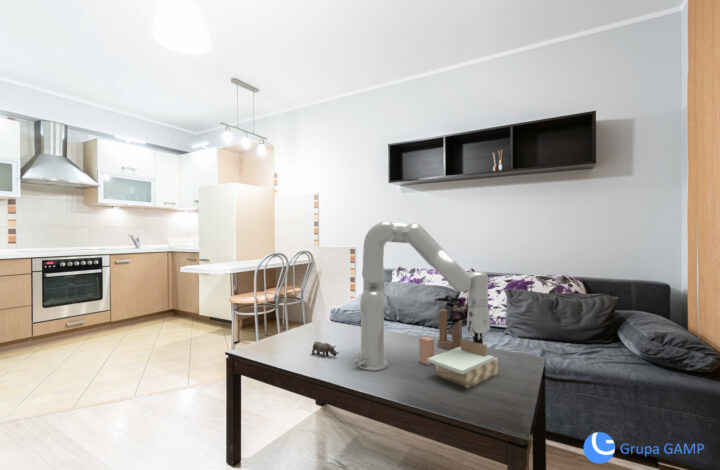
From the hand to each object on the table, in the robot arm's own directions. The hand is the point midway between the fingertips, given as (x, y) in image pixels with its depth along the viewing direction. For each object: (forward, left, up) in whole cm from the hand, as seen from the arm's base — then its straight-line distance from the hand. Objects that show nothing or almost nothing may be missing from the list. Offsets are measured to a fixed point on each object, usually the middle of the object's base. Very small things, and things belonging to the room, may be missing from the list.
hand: (478, 348), depth 130 cm
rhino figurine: (-39, +51, -9) cm, 65 cm away
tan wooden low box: (-8, 0, -8) cm, 11 cm away
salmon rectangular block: (-10, +18, -8) cm, 22 cm away
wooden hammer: (+12, +22, -8) cm, 26 cm away
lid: (-12, 0, -2) cm, 12 cm away
